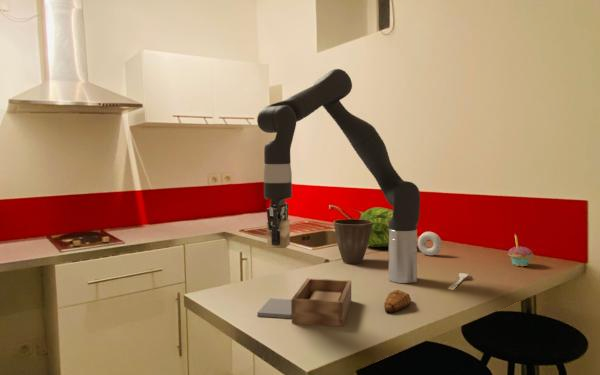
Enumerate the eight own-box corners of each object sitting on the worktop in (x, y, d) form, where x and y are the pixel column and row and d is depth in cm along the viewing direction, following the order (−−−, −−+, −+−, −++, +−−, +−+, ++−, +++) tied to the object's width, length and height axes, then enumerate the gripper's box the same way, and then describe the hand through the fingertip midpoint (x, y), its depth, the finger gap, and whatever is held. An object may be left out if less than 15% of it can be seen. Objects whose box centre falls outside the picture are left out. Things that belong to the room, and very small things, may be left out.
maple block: (289, 244, 127) (289, 219, 126) (285, 248, 122) (284, 222, 121) (272, 244, 128) (271, 219, 127) (267, 247, 123) (266, 221, 122)
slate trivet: (300, 303, 131) (300, 300, 131) (290, 318, 119) (290, 314, 119) (270, 301, 133) (270, 298, 133) (257, 316, 121) (257, 312, 121)
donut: (442, 256, 188) (443, 232, 187) (440, 257, 185) (440, 233, 184) (419, 253, 194) (419, 230, 193) (416, 255, 191) (416, 231, 190)
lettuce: (398, 254, 192) (398, 211, 190) (350, 248, 206) (350, 208, 205) (417, 247, 206) (417, 207, 205) (371, 241, 221) (371, 204, 220)
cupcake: (508, 267, 169) (508, 235, 168) (507, 262, 176) (507, 231, 176) (534, 269, 165) (535, 236, 164) (532, 263, 173) (532, 232, 172)
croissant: (399, 317, 120) (399, 298, 119) (375, 311, 124) (375, 293, 123) (419, 303, 130) (419, 285, 130) (396, 298, 134) (396, 282, 134)
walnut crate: (351, 300, 133) (351, 280, 132) (342, 326, 113) (342, 302, 113) (307, 298, 136) (307, 278, 135) (291, 322, 116) (291, 299, 116)
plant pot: (369, 257, 188) (369, 218, 186) (374, 266, 173) (374, 224, 172) (333, 257, 188) (332, 218, 187) (334, 266, 173) (334, 224, 172)
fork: (445, 297, 143) (445, 289, 142) (464, 275, 160) (464, 267, 159) (454, 299, 141) (454, 290, 141) (472, 276, 158) (472, 269, 158)
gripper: (284, 182, 116) (285, 249, 117) (297, 179, 130) (298, 238, 131) (256, 182, 117) (257, 248, 119) (271, 179, 131) (272, 238, 132)
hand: (278, 242), depth 125 cm, fingers closed on maple block, 5 cm apart
